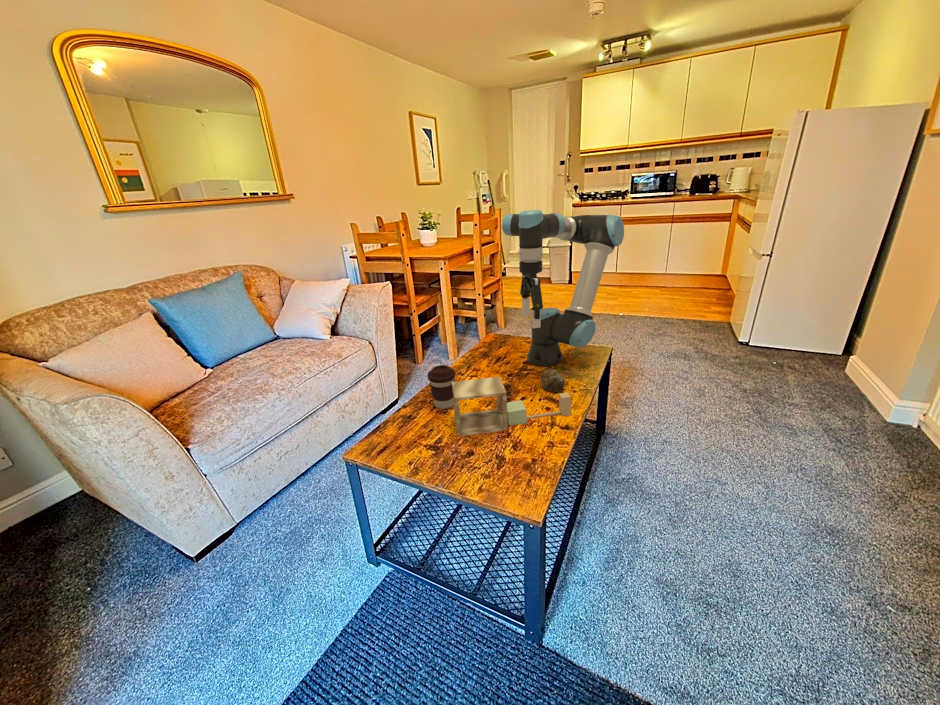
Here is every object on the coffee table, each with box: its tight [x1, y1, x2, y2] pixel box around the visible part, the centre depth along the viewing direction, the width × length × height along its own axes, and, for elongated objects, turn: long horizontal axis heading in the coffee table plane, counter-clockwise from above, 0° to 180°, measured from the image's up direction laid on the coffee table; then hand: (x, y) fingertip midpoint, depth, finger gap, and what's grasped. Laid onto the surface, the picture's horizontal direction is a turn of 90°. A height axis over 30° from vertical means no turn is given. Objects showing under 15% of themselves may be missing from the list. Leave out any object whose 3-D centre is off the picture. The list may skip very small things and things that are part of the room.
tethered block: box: [507, 392, 572, 426], centre depth 131 cm, size 22×6×8 cm, turn 97°
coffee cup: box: [427, 364, 456, 410], centre depth 142 cm, size 10×10×15 cm
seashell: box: [540, 368, 565, 393], centre depth 150 cm, size 11×9×8 cm
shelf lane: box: [452, 376, 508, 437], centre depth 128 cm, size 16×11×15 cm
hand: (530, 321), depth 138 cm, fingers open, 13 cm apart
